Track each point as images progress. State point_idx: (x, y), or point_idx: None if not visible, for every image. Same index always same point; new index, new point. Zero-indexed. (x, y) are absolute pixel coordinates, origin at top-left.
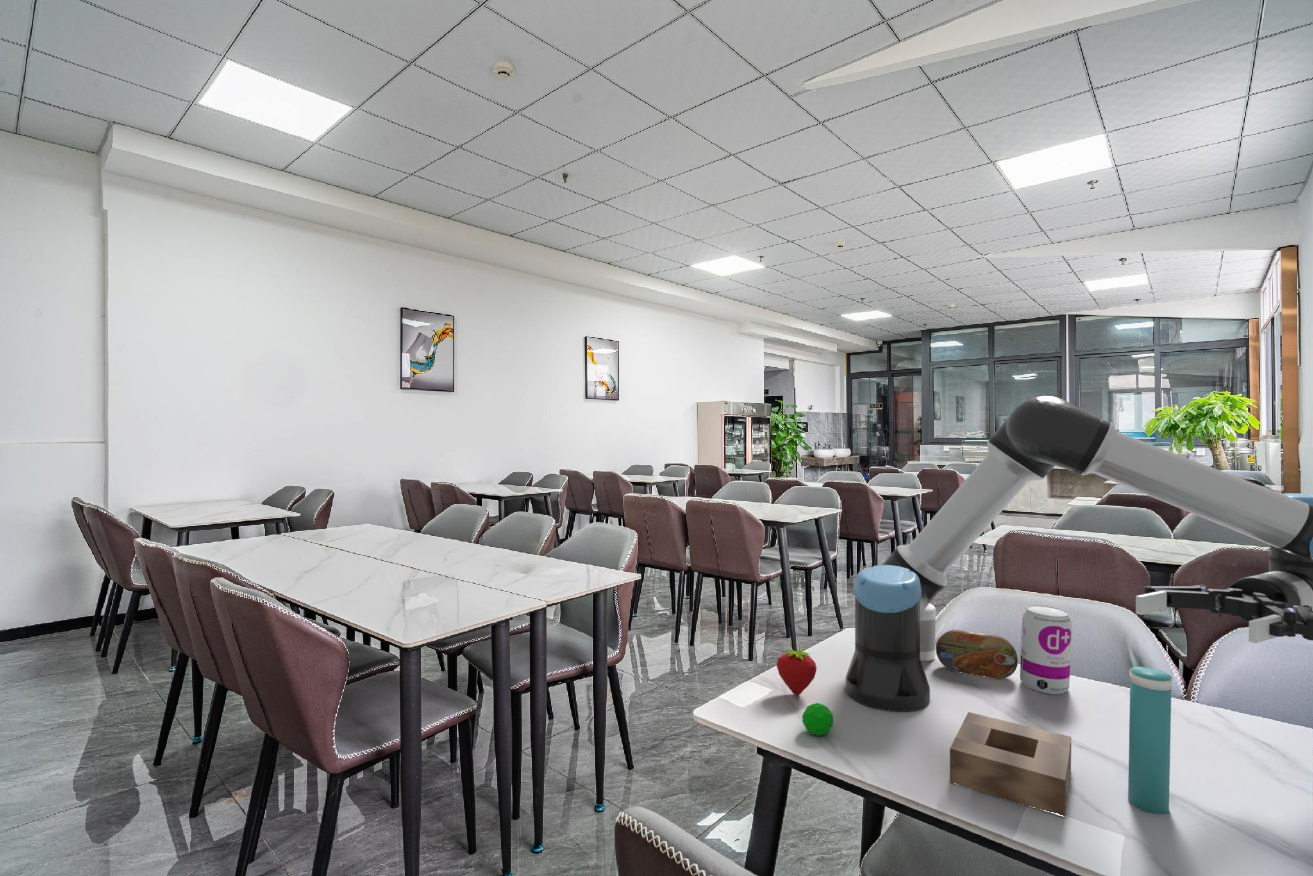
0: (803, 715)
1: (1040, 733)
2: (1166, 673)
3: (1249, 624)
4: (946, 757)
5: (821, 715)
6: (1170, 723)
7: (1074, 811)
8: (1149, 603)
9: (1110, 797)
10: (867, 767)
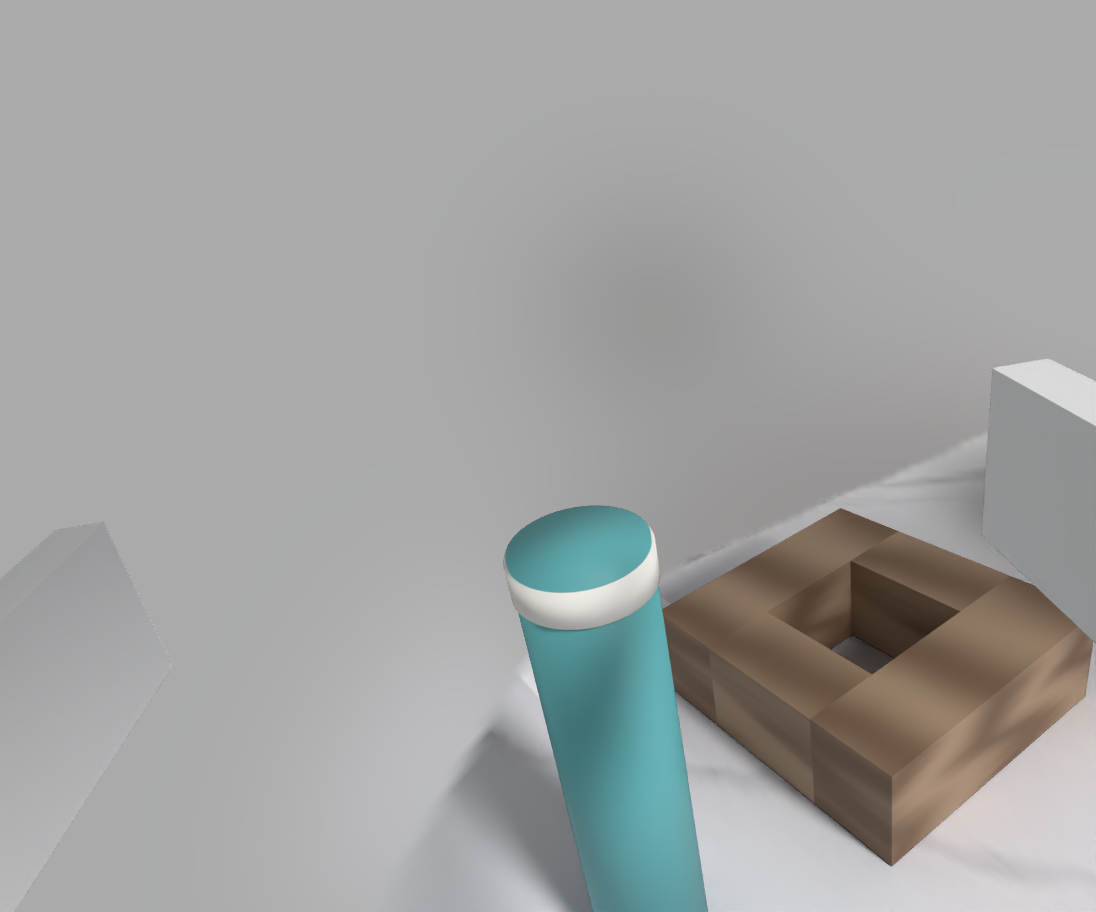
0: None
1: (921, 704)
2: (548, 583)
3: (111, 545)
4: None
5: None
6: (547, 724)
7: (684, 719)
8: (1083, 518)
9: (716, 849)
10: (916, 497)
